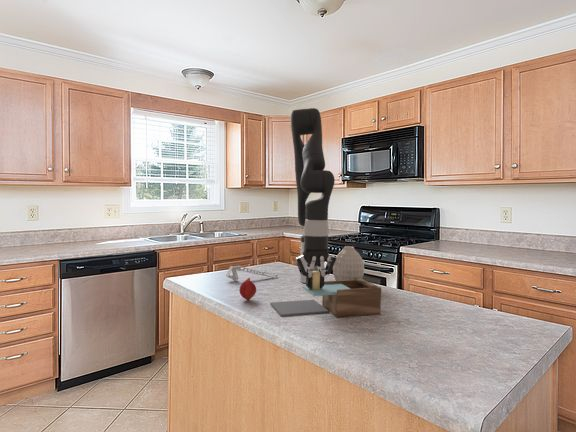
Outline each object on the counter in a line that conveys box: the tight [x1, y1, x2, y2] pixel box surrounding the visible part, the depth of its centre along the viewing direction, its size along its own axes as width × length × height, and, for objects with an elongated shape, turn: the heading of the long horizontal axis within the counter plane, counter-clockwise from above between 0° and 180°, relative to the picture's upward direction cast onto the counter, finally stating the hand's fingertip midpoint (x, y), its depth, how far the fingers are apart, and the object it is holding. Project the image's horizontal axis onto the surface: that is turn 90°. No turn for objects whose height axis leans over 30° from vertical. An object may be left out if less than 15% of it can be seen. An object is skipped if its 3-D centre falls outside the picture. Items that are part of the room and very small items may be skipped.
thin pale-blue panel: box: [302, 271, 350, 297], centre depth 118 cm, size 10×14×6 cm
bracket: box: [225, 265, 278, 282], centre depth 162 cm, size 3×21×10 cm, turn 114°
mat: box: [269, 299, 330, 317], centre depth 122 cm, size 13×16×1 cm
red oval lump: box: [239, 277, 257, 301], centre depth 130 cm, size 6×6×8 cm
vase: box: [332, 245, 365, 281], centre depth 152 cm, size 13×13×17 cm
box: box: [321, 277, 382, 319], centre depth 121 cm, size 12×15×9 cm
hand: (314, 288), depth 117 cm, fingers closed on thin pale-blue panel, 3 cm apart
